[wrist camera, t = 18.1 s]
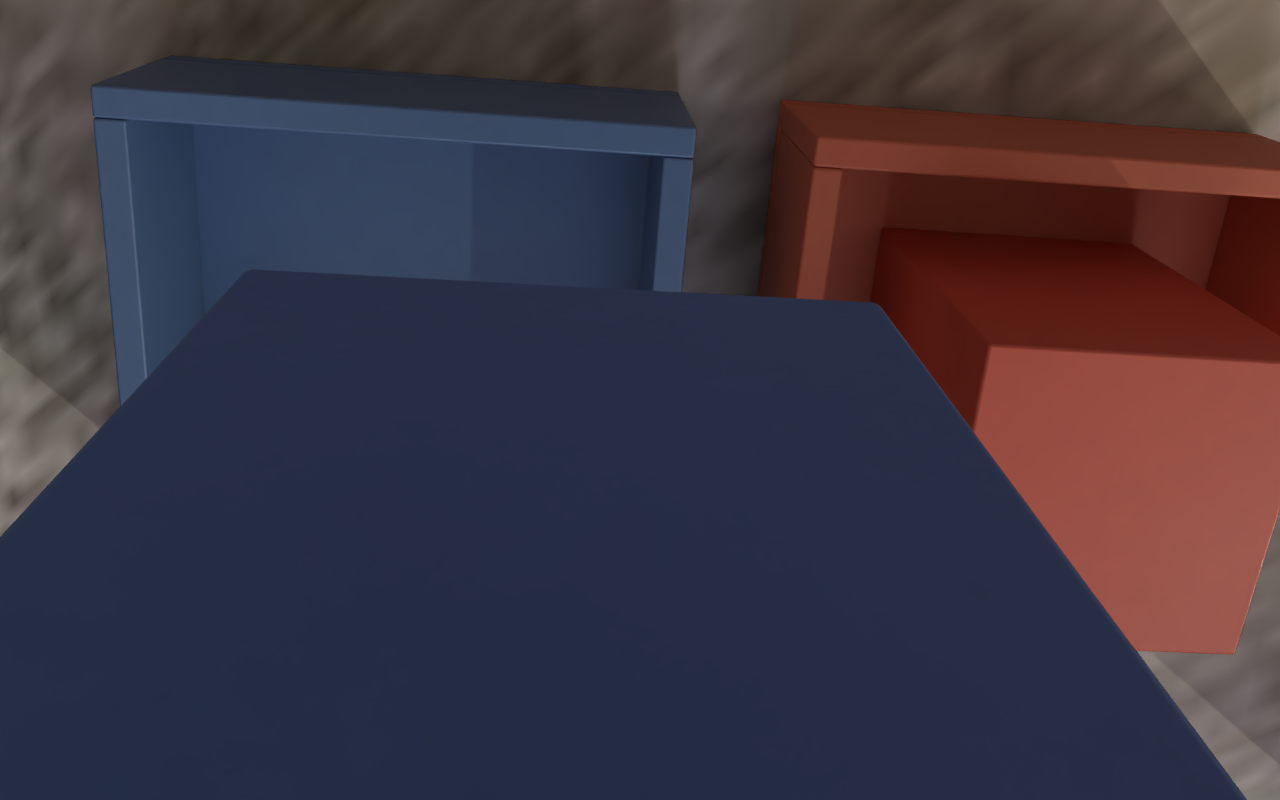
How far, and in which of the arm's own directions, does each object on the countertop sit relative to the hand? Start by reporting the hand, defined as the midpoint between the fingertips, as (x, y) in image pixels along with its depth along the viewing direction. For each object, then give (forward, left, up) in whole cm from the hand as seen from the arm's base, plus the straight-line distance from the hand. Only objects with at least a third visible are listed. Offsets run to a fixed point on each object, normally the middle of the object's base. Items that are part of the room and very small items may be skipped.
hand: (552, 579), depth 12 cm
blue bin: (+3, -3, -17) cm, 18 cm away
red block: (+3, +10, -16) cm, 20 cm away
